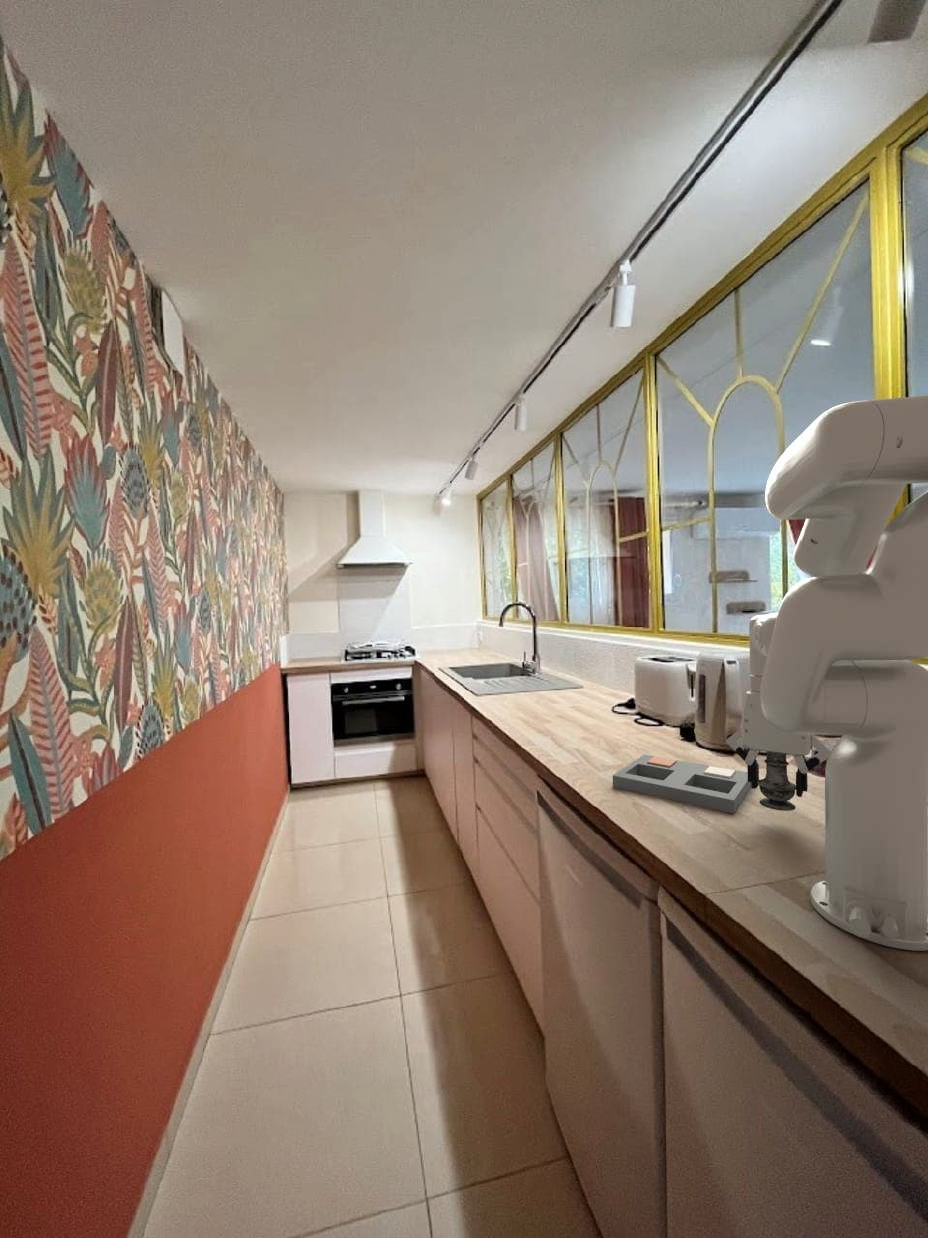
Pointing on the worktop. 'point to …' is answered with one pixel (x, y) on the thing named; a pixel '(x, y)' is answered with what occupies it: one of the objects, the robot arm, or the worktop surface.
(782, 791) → the salt shaker
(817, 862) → the worktop surface
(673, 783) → the socket board
